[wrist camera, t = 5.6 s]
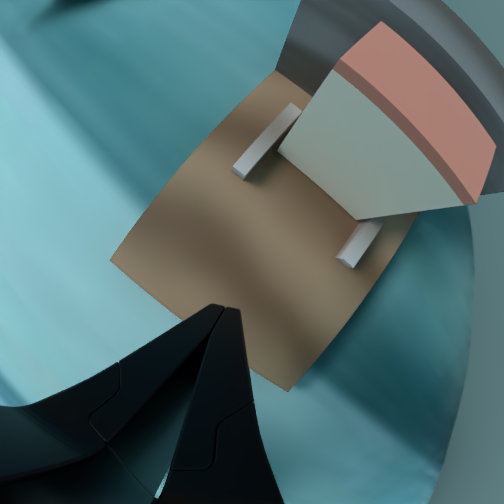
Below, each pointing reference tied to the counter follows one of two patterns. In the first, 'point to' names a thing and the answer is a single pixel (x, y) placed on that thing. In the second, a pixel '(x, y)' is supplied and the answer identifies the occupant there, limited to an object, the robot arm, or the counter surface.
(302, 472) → the counter surface
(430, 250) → the counter surface
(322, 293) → the wooden platform
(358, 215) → the pink-topped white block
